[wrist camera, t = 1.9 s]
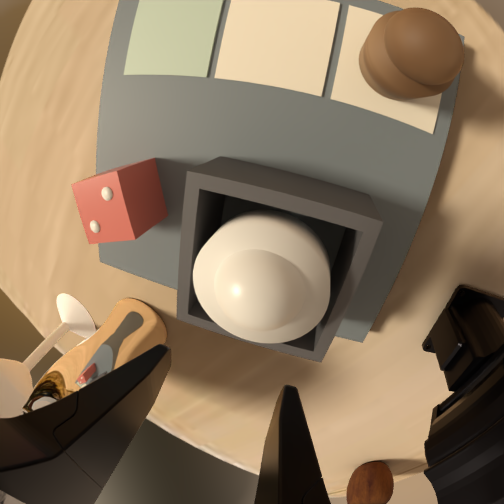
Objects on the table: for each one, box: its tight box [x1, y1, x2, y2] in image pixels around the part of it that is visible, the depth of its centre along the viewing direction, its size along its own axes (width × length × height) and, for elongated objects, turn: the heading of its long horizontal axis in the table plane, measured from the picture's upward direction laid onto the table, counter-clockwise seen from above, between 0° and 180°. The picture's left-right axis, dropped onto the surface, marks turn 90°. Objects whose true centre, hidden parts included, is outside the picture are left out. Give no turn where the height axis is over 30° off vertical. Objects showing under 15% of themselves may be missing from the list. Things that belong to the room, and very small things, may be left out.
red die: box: [71, 158, 168, 244], centre depth 17 cm, size 4×4×4 cm
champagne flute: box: [0, 293, 96, 418], centre depth 20 cm, size 7×7×24 cm
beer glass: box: [19, 298, 167, 414], centre depth 20 cm, size 7×7×15 cm
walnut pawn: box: [359, 8, 464, 101], centre depth 9 cm, size 4×4×7 cm
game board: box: [96, 0, 464, 362], centre depth 15 cm, size 22×22×6 cm
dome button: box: [193, 210, 330, 344], centre depth 14 cm, size 6×6×4 cm
